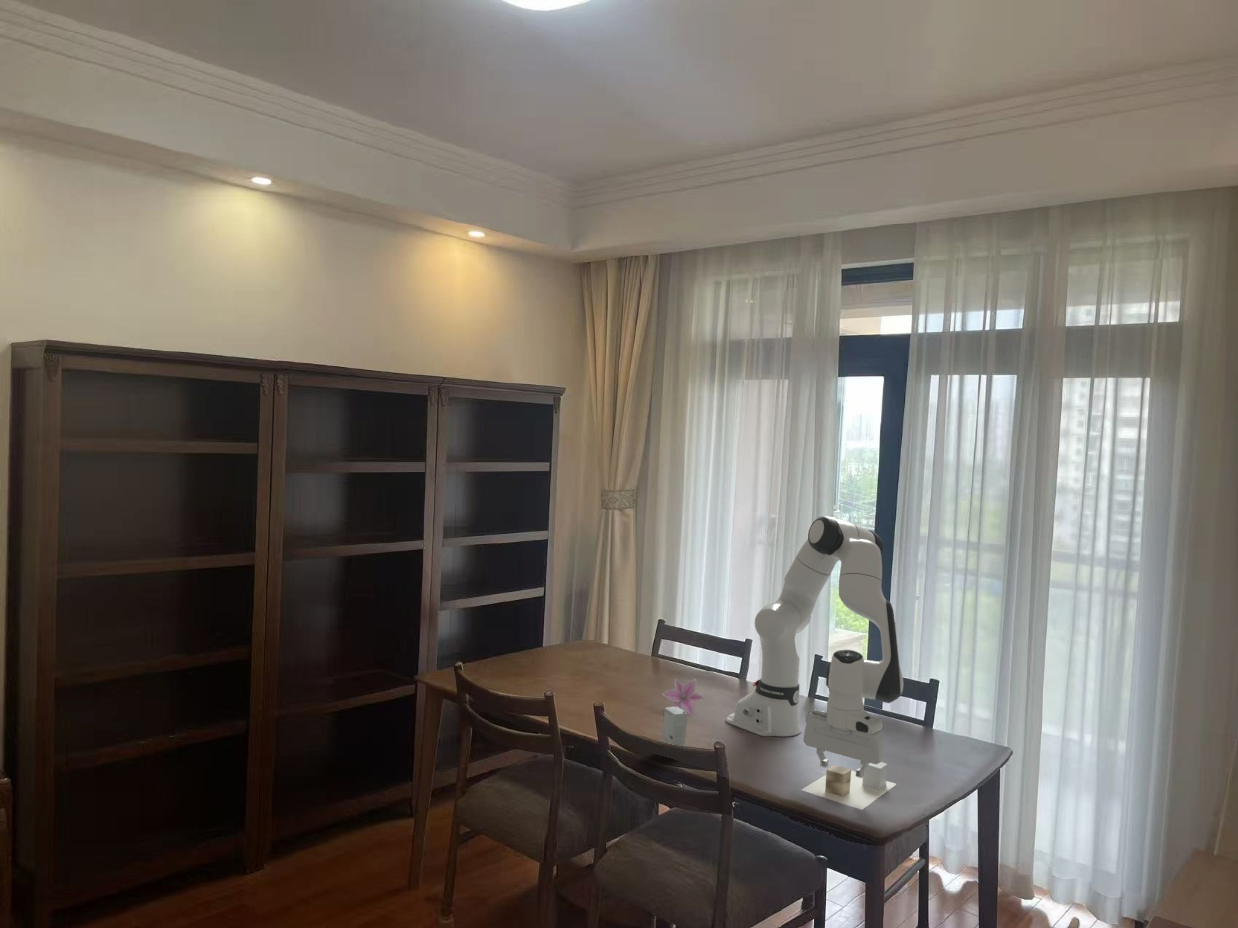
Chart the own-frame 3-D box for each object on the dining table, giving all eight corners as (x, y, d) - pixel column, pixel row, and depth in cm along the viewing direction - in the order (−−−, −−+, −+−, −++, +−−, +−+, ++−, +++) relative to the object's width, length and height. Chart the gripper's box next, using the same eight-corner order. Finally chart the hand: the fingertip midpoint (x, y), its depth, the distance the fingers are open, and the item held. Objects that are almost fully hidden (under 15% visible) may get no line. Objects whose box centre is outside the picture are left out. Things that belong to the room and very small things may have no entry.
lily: (656, 710, 280) (658, 688, 275) (678, 689, 288) (681, 668, 283) (686, 730, 274) (689, 708, 269) (708, 708, 282) (711, 687, 276)
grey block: (862, 784, 225) (863, 763, 225) (869, 779, 228) (870, 758, 228) (879, 789, 222) (880, 768, 222) (886, 784, 225) (887, 763, 225)
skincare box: (660, 750, 242) (663, 706, 242) (675, 748, 244) (677, 705, 243) (670, 758, 236) (673, 714, 236) (685, 756, 238) (688, 712, 238)
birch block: (825, 791, 219) (826, 769, 219) (833, 785, 223) (834, 764, 223) (842, 796, 216) (843, 774, 216) (849, 791, 220) (851, 769, 220)
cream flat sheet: (800, 790, 219) (801, 789, 219) (838, 767, 237) (838, 766, 236) (861, 810, 209) (861, 809, 209) (896, 784, 226) (896, 783, 226)
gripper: (800, 710, 223) (798, 763, 223) (878, 729, 210) (875, 786, 211) (811, 704, 228) (809, 757, 228) (888, 723, 215) (885, 779, 216)
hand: (841, 771), depth 219 cm, fingers open, 8 cm apart
